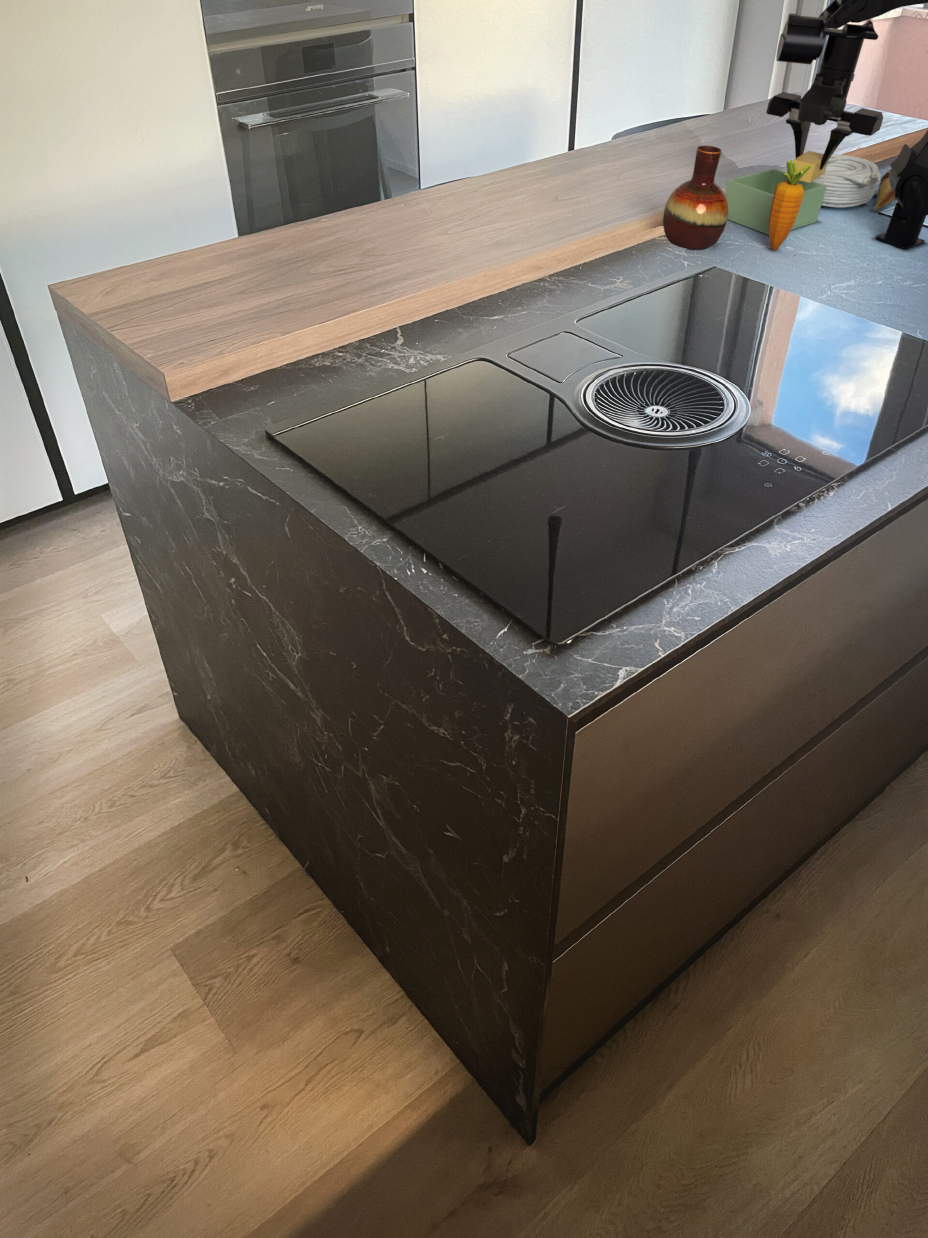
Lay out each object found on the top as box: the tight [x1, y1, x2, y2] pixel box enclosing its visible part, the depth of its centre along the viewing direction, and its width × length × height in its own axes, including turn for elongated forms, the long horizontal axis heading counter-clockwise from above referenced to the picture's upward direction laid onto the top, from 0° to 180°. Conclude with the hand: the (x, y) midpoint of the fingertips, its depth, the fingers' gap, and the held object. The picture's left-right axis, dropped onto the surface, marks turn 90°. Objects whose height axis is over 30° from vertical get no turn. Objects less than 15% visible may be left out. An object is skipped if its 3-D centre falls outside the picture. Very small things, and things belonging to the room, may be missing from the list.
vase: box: [662, 145, 728, 251], centre depth 162 cm, size 11×11×15 cm
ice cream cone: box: [872, 167, 896, 213], centre depth 188 cm, size 6×6×15 cm
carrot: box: [768, 159, 811, 252], centre depth 161 cm, size 5×5×15 cm
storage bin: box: [724, 168, 827, 236], centre depth 176 cm, size 14×12×7 cm
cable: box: [813, 153, 881, 208], centre depth 187 cm, size 18×18×6 cm
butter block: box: [792, 150, 829, 183], centre depth 167 cm, size 8×4×3 cm, turn 145°
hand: (809, 166), depth 167 cm, fingers closed on butter block, 4 cm apart
